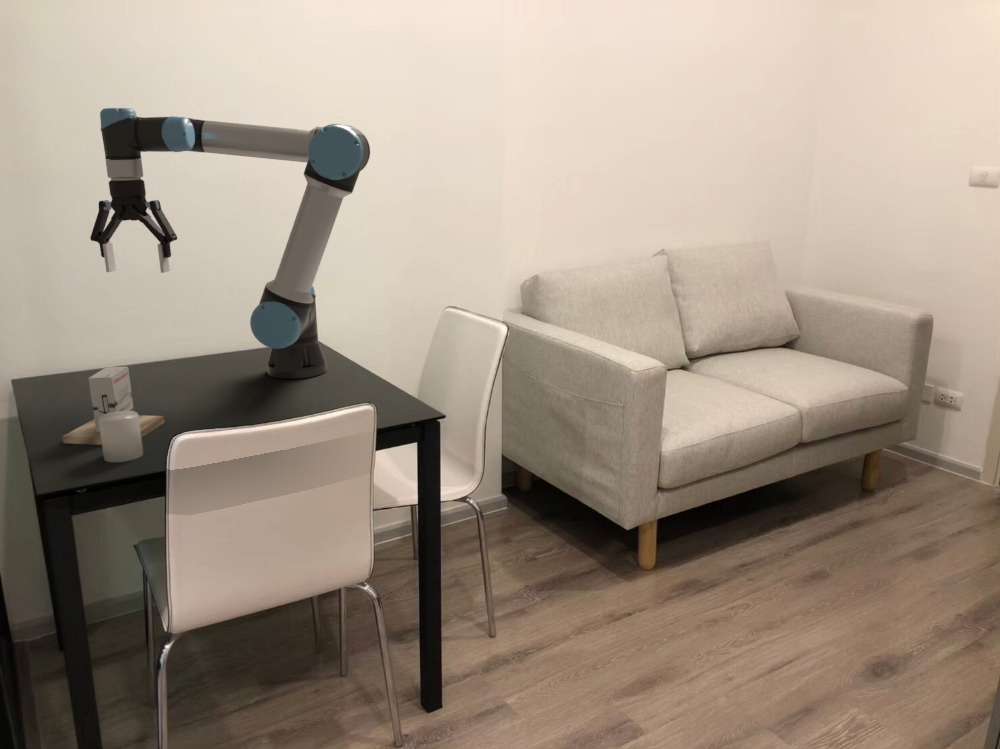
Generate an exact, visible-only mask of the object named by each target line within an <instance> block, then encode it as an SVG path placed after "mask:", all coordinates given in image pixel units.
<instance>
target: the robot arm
mask: <svg viewBox="0 0 1000 749" xmlns="http://www.w3.org/2000/svg"><path fill="white" fill-rule="evenodd" d="M136 113H137V112H136V110H135V109H134V108H132V107H131V108H130V107H128V108H127V107H120V108H119V107H108V108H107V107H106V108H102V109H101V111H100V113H99V118H100V132H101V136H102V137H101V138H102V142H103V150H104V156H105V166H106V172H107V173H106V174H107V178H108V179H110V180H109V181H108V187H109V188H108V189H109V194H110V195H109V196H110V197H111V201H110V200H107V199H105V200H99V201H98V212H97V215H96V218H95V222H94V225H93V228H92V231H91V234H90V238H89V239H90V241H92V242H97V243H98V244H99V250H100V251H99V252H100V256H101V258H104V263H105V270H106V273H111V272H114V271H116V270H117V268H116V261H115V252H114V246H113V243H112V242H111V238H112V237H113V236H114V234H115V232H116V231H117V229H118V228H119V226H120V224H121V223H122V222H123V221H135V222H136V221H139V222H140V223H142V224H143V225H144V226H145V227H146V228H147V230H148V231H149V232H150V234H152V235H153V236H154V237H155V239H157V241H158V242H159V244H158V243H157V250H158V251H157V254H158V259H159V260H158V261H159V268H160V269H159V270H160V273H161V274H162V273H167V272H170V271H171V270H170V269H171V268H170V261H169V258H171V257H172V251H171V243H172V242H174V241H177V240H178V236H177V233H176V232H175V231H174V229H173V227H172V225H171V224H170V222H169V220H168V219H167V217H166V215H165V213H164V211H163V210H162V206H161V201H160V200H158V199H155V200H150V201H147V198H146V194H147V192H146V185H145V181H144V179H142V178H143V177H144V171H143V170H144V169H143V163H142V160H143V159H142V154H141V153H146V152H158V153H159V152H160V153H161V152H165V153H166V152H171V153H173V152H174V153H183V152H195V153H209V154H215V155H216V154H217V155H218V154H219V155H228V156H230V155H231V156H239V157H248V158H257V159H258V158H259V159H267V160H268V159H269V160H277V161H278V160H279V161H287V162H288V161H289V162H299V163H306V165H305V168H304V171H303V176H304V179H305V181H306V183H307V184H306V186H305V190H304V191H303V192H304V193H303V196H302V199H301V202H300V204H299V208H298V210H297V212H296V215H295V218H294V222H293V225H292V227H291V231H290V233H289V236H288V239H287V242H286V245H285V248H284V251H283V254H282V257H281V259H280V263H279V266H278V269H277V271H276V275H275V277H274V279H272V280H270V281H267V282H266V283H265V285H264V289H263V292H262V295H261V297H260V300H259V303H258V305H257V306H256V307H254V310H253V311H252V312H251V316H250V320H249V323H250V324H249V325H250V330H251V332H252V334H253V336H254V338H255V339H256V340H257V341H258V342H259V343H261V345H264V346H265V347H268V348H270V352H269V354H268V360H267V365H266V370H267V375H268V376H270V377H272V378H274V379H282V380H283V379H284V380H285V379H286V380H296V379H306V378H311V377H316V376H319V375H321V374H324V373H326V371H327V370H328V364H327V359H326V356H325V354H324V352H323V349H322V347H321V345H320V342H319V335H318V333H319V332H318V331H319V330H318V318H317V306H316V297H317V296H316V291H315V288H314V283H315V278H316V276H317V273H318V270H319V267H320V265H321V262H322V259H323V256H324V253H325V251H326V248H327V245H328V242H329V239H330V236H331V234H332V231H333V228H334V225H335V222H336V220H337V216H338V214H339V211H340V208H341V205H342V203H343V200H344V198H345V197H347V196H348V195H351V194H353V192H354V189H355V186H356V183H357V181H358V179H359V175H360V173H361V171H362V170H364V169H365V168H366V166H367V164H368V163H369V160H370V157H371V147H370V146H371V145H370V143H369V141H368V139H367V137H366V135H365V134H364V133H363V132H362V131H361V130H360V129H359V128H356V127H354V126H352V125H346V124H342V123H331V124H328V125H325V126H314V127H313V128H312V129H311V130H310V129H309V130H308V129H297V128H289V127H279V126H278V127H277V126H270V125H269V126H267V125H257V124H247V123H246V124H245V123H235V122H225V121H215V120H202V119H197V118H196V119H195V118H189V117H184V116H173V115H172V116H154V117H144V116H143V117H141V116H137V115H138V114H136ZM148 209H149V210H150V212H151V214H152V215H153V217H154V219H155V221H156V222H157V223H156V222H155V221H154V220H153V218H152V216H151V214H149V213H148V211H147V210H148ZM111 210H113V211H114V213H113V214H112V216H111V218H110V221H109V222H108V224H107V221H108V218H109V215H110V211H111Z"/></svg>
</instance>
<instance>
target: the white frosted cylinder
mask: <svg viewBox="0 0 1000 749" xmlns="http://www.w3.org/2000/svg"><path fill="white" fill-rule="evenodd" d="M138 415H139V413H138V412H137V411H135V410H134V411H116V412H111V413H107V414H104V415H102V416H100V417H99V418H98V422H99V429H100V435H101V442H102V445H101V447H102V454H103V460H104V461H105V462H108V463H125V462H130V461H133V460H136V459H139V458H141V457H142V456H143V455H144V448H143V447H144V446H143V439H142V438H143V437H142V438H141V431H140V424H139V416H138Z"/></svg>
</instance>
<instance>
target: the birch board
mask: <svg viewBox="0 0 1000 749" xmlns="http://www.w3.org/2000/svg"><path fill="white" fill-rule="evenodd" d="M138 416H139V424H140V431H141V438H143V437H145V436H146V435H148V434H150V433H151V432H152V431H154V430H156V429H157V428H158V427H161V426H162V425H163V424H165V416H164V415H145V414H144V415H143V414H142V415H139V414H138ZM62 442H63V444H70V445H71V444H72V445H73V444H74V445H93V446H94V445H95V446H96V445H97V446H102V442H101V435H100V432H96V426H95V419H94V418H93V419H91V420H90V421H88V422H86V423H84V424H83V425H81V426H79V427H76V428H75V429H73V430H71V431H70V432H68V433H66V434H63V435H62Z"/></svg>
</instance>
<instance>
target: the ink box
mask: <svg viewBox="0 0 1000 749" xmlns="http://www.w3.org/2000/svg"><path fill="white" fill-rule="evenodd" d="M130 377H131V376H130V370H129V366H109V367H106V366H105V367H104V368H103V369H101V370H99V371H98V372H96V373H94V374H93V375H91V376H89V377H88V386H89V393H90V398H91V399H90V400H91V403H92V404H91V405H92V410H93V411H92V412H93V419H95V426H96V432H100V429H99V422H98V418H99V417H100V416H102V415H104V414H107V413H111V412H116V411H135V410H134V401H133V395H132V385H131V378H130Z"/></svg>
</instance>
